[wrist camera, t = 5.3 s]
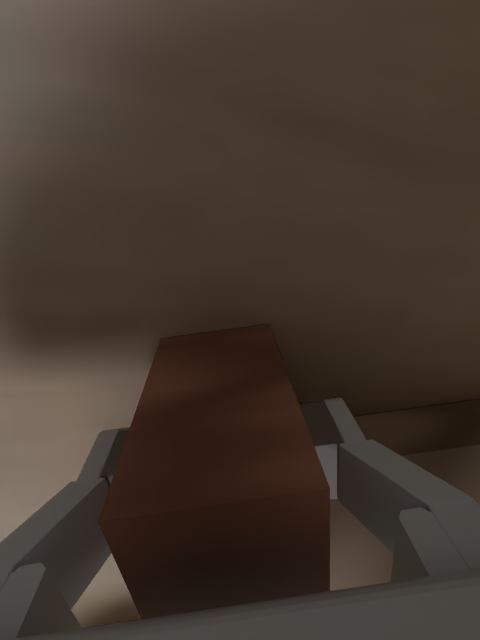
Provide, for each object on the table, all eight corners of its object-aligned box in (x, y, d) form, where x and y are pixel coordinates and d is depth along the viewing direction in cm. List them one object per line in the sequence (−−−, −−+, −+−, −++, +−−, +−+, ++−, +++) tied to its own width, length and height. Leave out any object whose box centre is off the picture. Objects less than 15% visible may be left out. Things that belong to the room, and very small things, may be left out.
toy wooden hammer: (269, 324, 10) (329, 488, 5) (289, 559, 15) (330, 770, 10) (160, 338, 10) (97, 521, 5) (217, 570, 15) (218, 788, 10)
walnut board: (670, 372, 12) (754, 408, 10) (599, 511, 16) (653, 557, 14) (152, 445, 12) (139, 495, 10) (190, 571, 15) (186, 627, 13)
